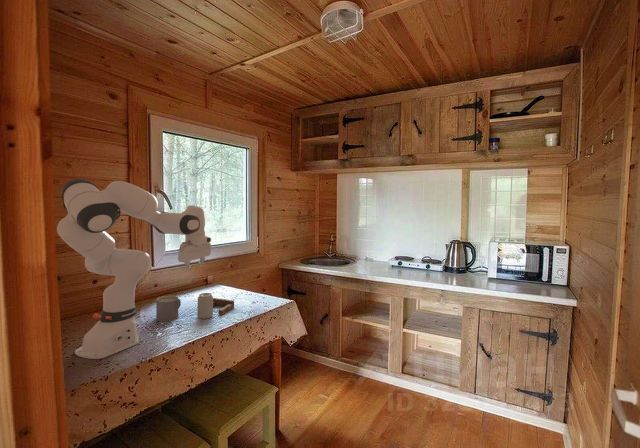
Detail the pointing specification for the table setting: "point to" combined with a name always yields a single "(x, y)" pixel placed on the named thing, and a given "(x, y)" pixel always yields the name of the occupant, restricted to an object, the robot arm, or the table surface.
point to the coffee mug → (167, 308)
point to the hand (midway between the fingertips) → (195, 268)
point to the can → (205, 305)
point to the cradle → (223, 305)
